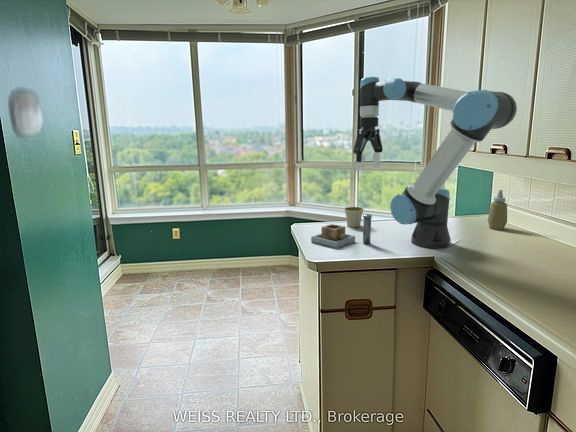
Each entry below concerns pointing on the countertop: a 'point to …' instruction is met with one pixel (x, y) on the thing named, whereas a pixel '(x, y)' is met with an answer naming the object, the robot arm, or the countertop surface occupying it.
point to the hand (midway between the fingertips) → (368, 168)
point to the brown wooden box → (333, 232)
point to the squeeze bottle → (498, 212)
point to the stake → (367, 228)
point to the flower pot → (353, 216)
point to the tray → (321, 241)
